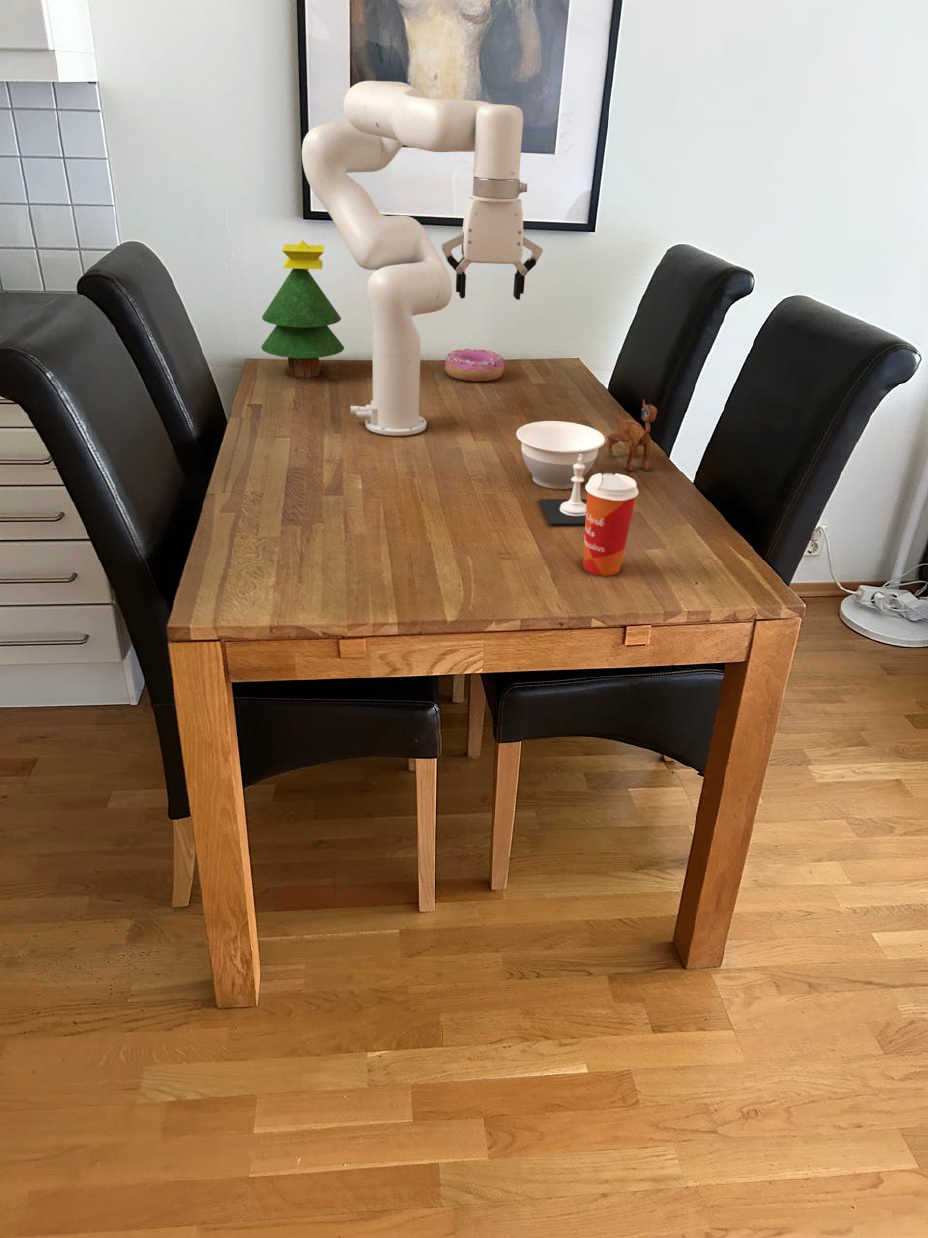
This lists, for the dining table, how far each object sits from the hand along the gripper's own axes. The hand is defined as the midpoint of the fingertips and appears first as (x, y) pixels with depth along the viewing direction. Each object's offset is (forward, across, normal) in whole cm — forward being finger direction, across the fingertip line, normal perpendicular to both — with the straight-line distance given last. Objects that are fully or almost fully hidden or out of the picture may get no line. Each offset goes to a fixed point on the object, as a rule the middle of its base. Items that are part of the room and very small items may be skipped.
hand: (489, 297), depth 163 cm
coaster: (+30, -13, +24) cm, 41 cm away
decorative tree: (+31, +35, -58) cm, 74 cm away
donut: (+31, -6, -58) cm, 66 cm away
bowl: (+30, -13, +9) cm, 34 cm away
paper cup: (+30, -13, +44) cm, 55 cm away
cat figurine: (+31, -29, -2) cm, 42 cm away
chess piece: (+30, -13, +24) cm, 40 cm away
